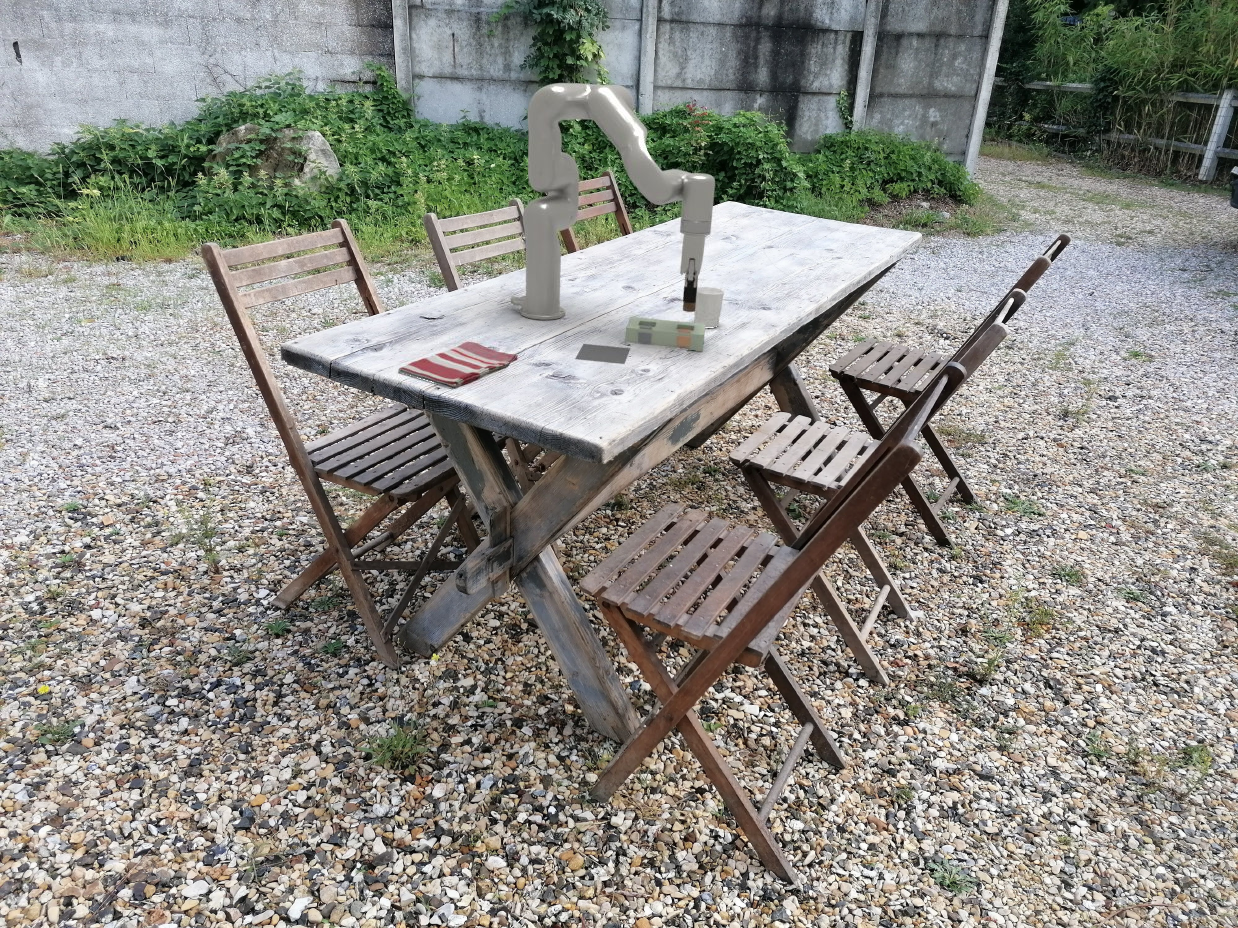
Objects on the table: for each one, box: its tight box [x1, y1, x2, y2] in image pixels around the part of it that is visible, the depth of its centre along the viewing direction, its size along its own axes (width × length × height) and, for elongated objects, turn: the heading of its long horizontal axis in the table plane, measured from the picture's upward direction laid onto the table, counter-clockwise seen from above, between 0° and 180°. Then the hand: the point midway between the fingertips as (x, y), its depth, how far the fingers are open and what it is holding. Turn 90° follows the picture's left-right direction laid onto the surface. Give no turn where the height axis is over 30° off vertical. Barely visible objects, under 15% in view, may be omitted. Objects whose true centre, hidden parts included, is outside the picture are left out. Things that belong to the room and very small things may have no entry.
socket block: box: [624, 316, 706, 352], centre depth 218 cm, size 20×10×5 cm, turn 82°
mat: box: [574, 343, 631, 365], centre depth 206 cm, size 12×12×1 cm
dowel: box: [682, 272, 699, 313], centre depth 212 cm, size 3×3×10 cm
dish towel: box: [397, 341, 519, 390], centre depth 193 cm, size 17×23×3 cm
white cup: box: [693, 286, 725, 327], centre depth 233 cm, size 8×8×10 cm
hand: (689, 300), depth 213 cm, fingers closed on dowel, 3 cm apart
